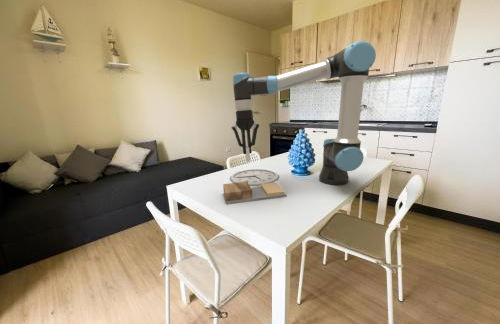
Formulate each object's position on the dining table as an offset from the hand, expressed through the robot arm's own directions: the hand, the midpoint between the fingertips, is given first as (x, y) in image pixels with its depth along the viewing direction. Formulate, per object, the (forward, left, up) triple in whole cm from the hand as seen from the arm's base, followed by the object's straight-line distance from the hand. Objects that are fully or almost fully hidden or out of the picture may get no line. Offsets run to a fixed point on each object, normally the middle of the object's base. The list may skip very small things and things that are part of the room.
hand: (248, 160), depth 105 cm
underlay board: (-2, +3, -17) cm, 17 cm away
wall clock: (-8, -23, -17) cm, 30 cm away
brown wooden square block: (+1, +3, -14) cm, 14 cm away
